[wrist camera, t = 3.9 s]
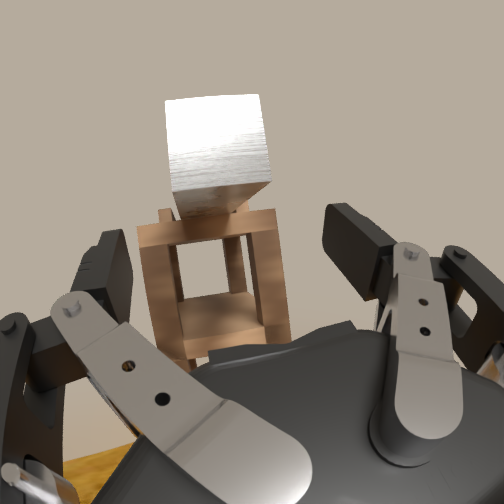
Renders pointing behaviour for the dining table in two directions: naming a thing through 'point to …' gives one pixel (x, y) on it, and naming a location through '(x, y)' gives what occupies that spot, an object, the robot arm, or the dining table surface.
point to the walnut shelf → (218, 305)
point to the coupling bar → (216, 153)
